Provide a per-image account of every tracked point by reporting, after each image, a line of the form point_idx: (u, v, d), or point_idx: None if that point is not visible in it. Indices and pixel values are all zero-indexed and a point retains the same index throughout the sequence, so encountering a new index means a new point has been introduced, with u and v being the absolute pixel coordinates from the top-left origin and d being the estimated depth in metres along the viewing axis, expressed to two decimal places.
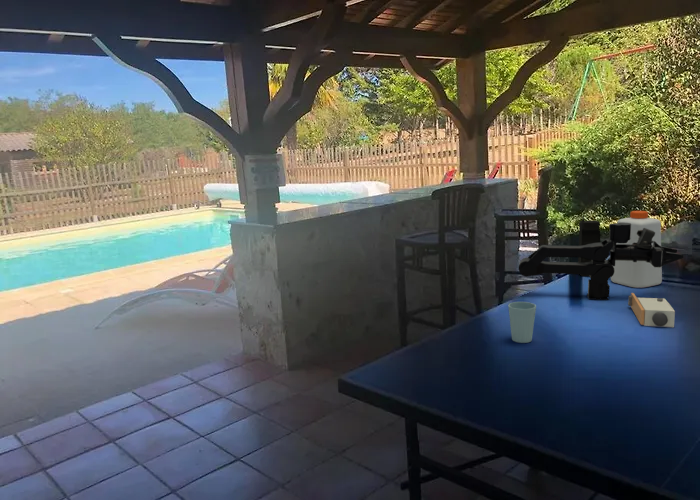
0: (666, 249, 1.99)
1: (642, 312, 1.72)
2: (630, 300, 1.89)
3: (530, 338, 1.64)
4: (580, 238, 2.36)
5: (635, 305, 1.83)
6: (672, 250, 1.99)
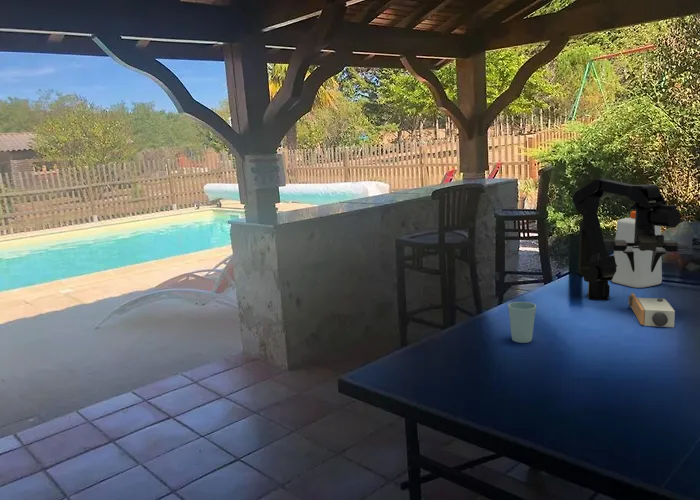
0: (652, 262, 1.84)
1: (642, 312, 1.72)
2: (630, 300, 1.89)
3: (530, 338, 1.64)
4: (580, 238, 2.36)
5: (635, 305, 1.83)
6: (651, 267, 1.85)
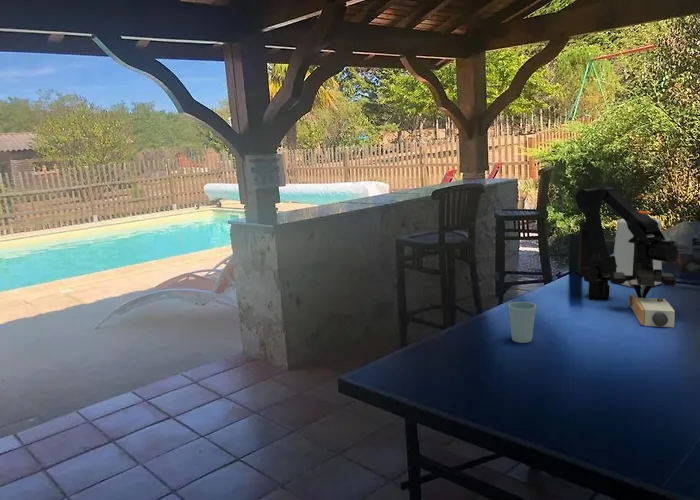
0: (642, 294, 1.87)
1: (642, 312, 1.72)
2: (630, 300, 1.89)
3: (530, 338, 1.64)
4: (580, 238, 2.36)
5: (635, 305, 1.83)
6: None
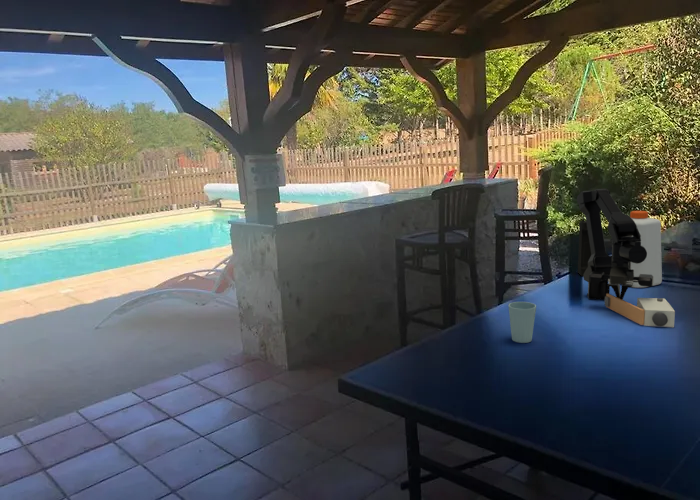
0: None
1: (642, 312, 1.72)
2: (608, 301, 1.89)
3: (530, 338, 1.64)
4: (580, 238, 2.36)
5: (621, 305, 1.83)
6: None
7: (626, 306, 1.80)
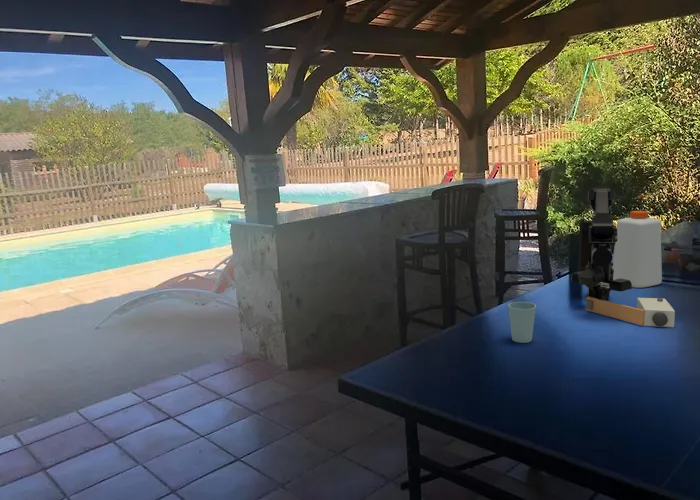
0: None
1: (643, 312, 1.72)
2: (591, 304, 1.87)
3: (530, 338, 1.64)
4: (580, 238, 2.36)
5: (610, 307, 1.81)
6: None
7: (618, 308, 1.79)
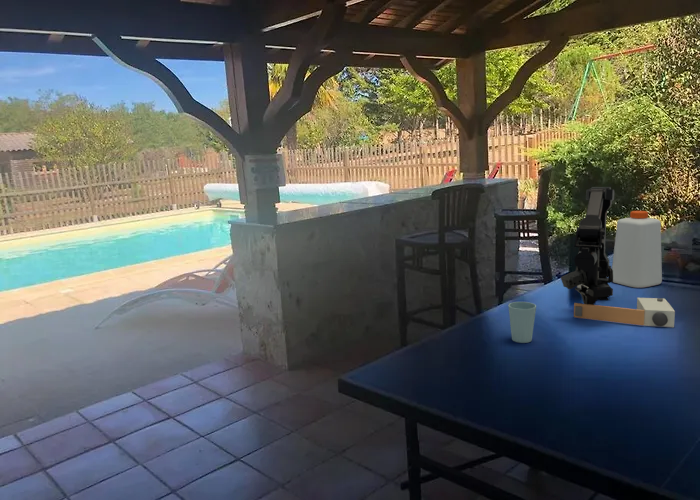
0: None
1: None
2: (581, 310, 1.81)
3: (530, 338, 1.64)
4: None
5: (605, 311, 1.77)
6: None
7: (614, 311, 1.76)
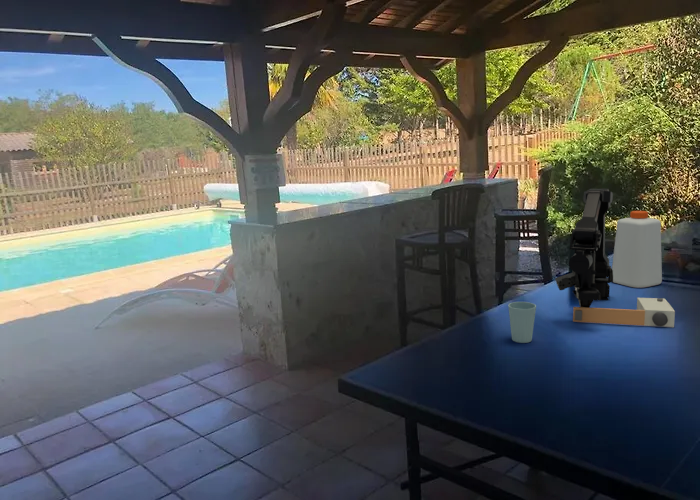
0: None
1: (644, 313, 1.72)
2: (581, 314, 1.77)
3: (530, 338, 1.64)
4: None
5: (605, 314, 1.75)
6: None
7: (615, 312, 1.74)
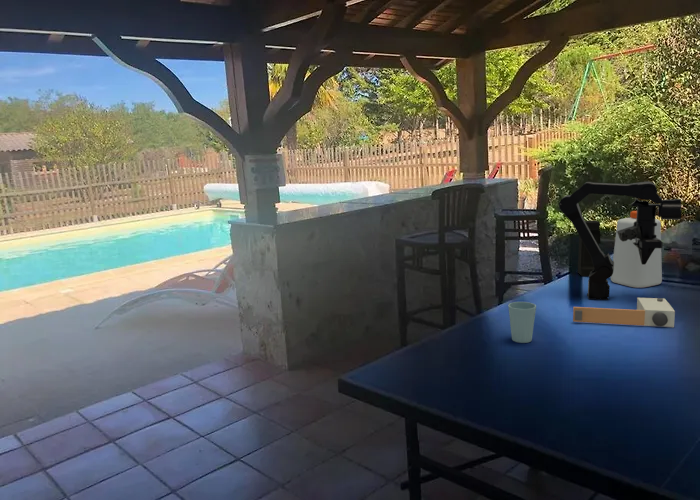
0: None
1: (644, 313, 1.72)
2: (582, 314, 1.77)
3: (530, 338, 1.64)
4: (580, 238, 2.36)
5: (605, 314, 1.75)
6: None
7: (615, 312, 1.74)
